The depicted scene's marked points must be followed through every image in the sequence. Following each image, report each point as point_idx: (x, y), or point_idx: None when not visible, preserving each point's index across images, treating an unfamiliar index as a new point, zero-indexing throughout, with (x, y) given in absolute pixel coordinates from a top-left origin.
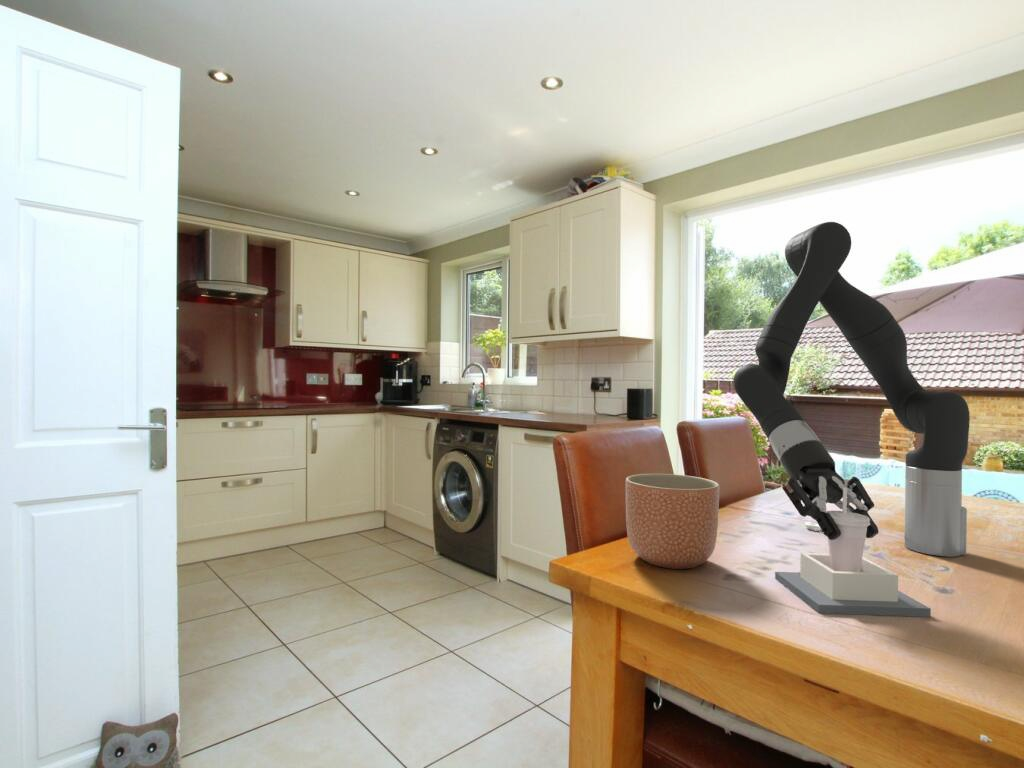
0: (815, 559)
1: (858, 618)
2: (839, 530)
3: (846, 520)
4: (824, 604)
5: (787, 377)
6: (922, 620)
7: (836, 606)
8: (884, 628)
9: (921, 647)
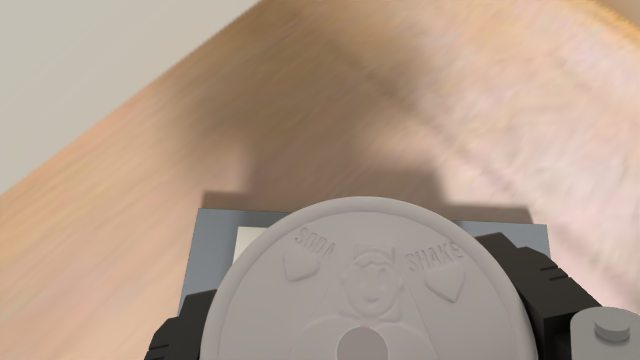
0: None
1: (430, 202)
2: (479, 241)
3: (441, 221)
4: (524, 227)
5: None
6: (249, 196)
7: (486, 222)
8: (395, 147)
9: (375, 65)
